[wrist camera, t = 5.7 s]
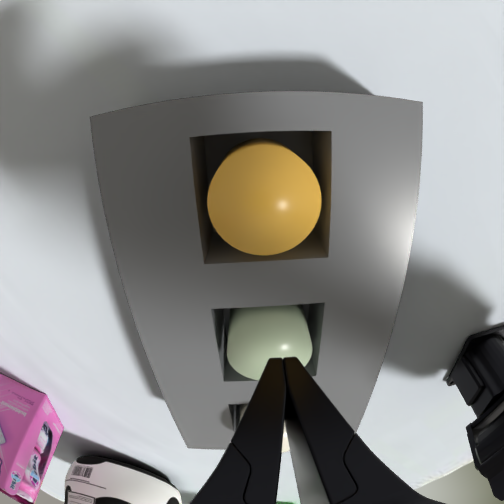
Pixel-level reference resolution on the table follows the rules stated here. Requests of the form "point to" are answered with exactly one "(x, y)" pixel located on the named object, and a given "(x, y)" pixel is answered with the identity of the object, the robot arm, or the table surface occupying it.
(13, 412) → the gum box
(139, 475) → the milk container
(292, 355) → the sage button
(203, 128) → the button panel
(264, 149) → the amber button
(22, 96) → the table surface
